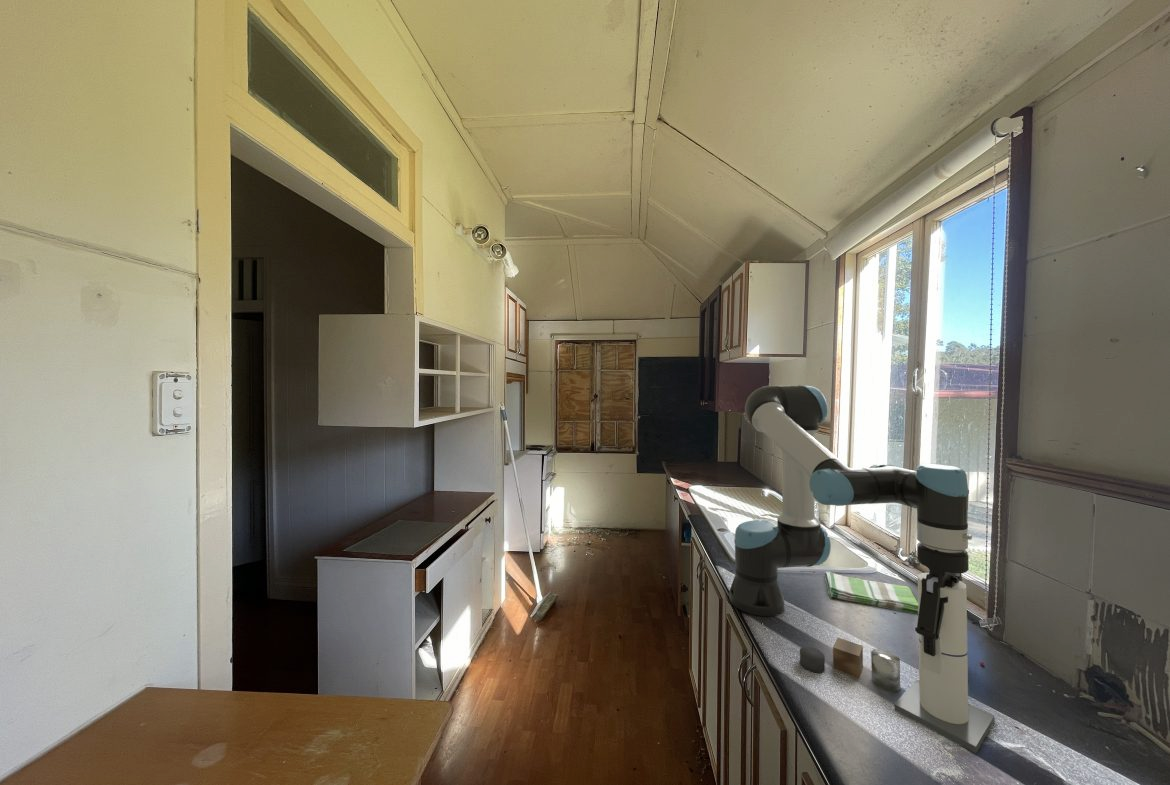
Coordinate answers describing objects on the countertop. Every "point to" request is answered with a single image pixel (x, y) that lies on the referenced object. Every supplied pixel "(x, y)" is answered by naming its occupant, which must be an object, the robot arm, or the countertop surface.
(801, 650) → the black rubber puck
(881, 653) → the grey metal tin
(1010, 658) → the countertop surface
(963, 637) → the cylindrical container
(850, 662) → the walnut block
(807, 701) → the countertop surface
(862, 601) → the dish towel
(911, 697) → the plate
